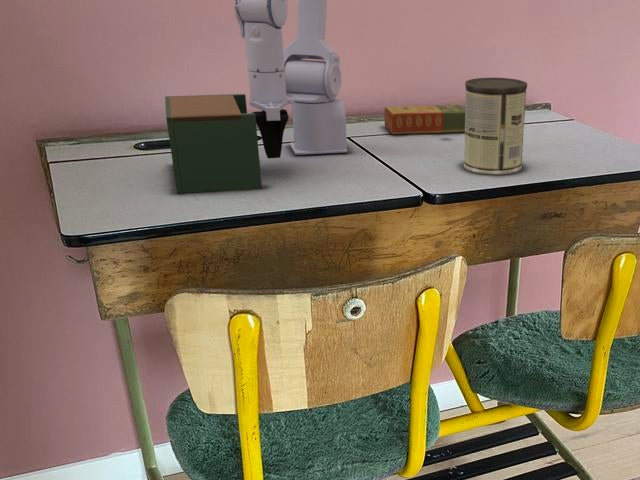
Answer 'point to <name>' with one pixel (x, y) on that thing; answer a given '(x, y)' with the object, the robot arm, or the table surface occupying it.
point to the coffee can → (494, 125)
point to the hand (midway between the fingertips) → (273, 157)
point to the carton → (425, 119)
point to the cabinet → (213, 143)
